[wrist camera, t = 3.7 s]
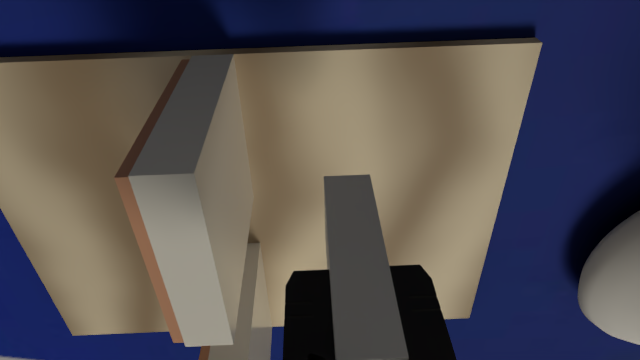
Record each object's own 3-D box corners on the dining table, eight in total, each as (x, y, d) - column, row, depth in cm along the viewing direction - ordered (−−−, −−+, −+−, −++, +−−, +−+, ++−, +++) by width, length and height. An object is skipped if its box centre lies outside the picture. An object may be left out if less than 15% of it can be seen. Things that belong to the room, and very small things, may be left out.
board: (76, 327, 28) (72, 335, 27) (-71, 60, 18) (-81, 65, 17) (466, 309, 28) (469, 317, 28) (535, 37, 18) (542, 42, 18)
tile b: (239, 328, 28) (219, 475, 21) (221, 244, 23) (190, 394, 17) (271, 326, 28) (263, 473, 21) (260, 242, 23) (244, 392, 17)
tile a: (211, 198, 22) (173, 347, 15) (181, 56, 18) (111, 176, 11) (253, 196, 22) (233, 344, 15) (233, 54, 18) (194, 173, 11)
